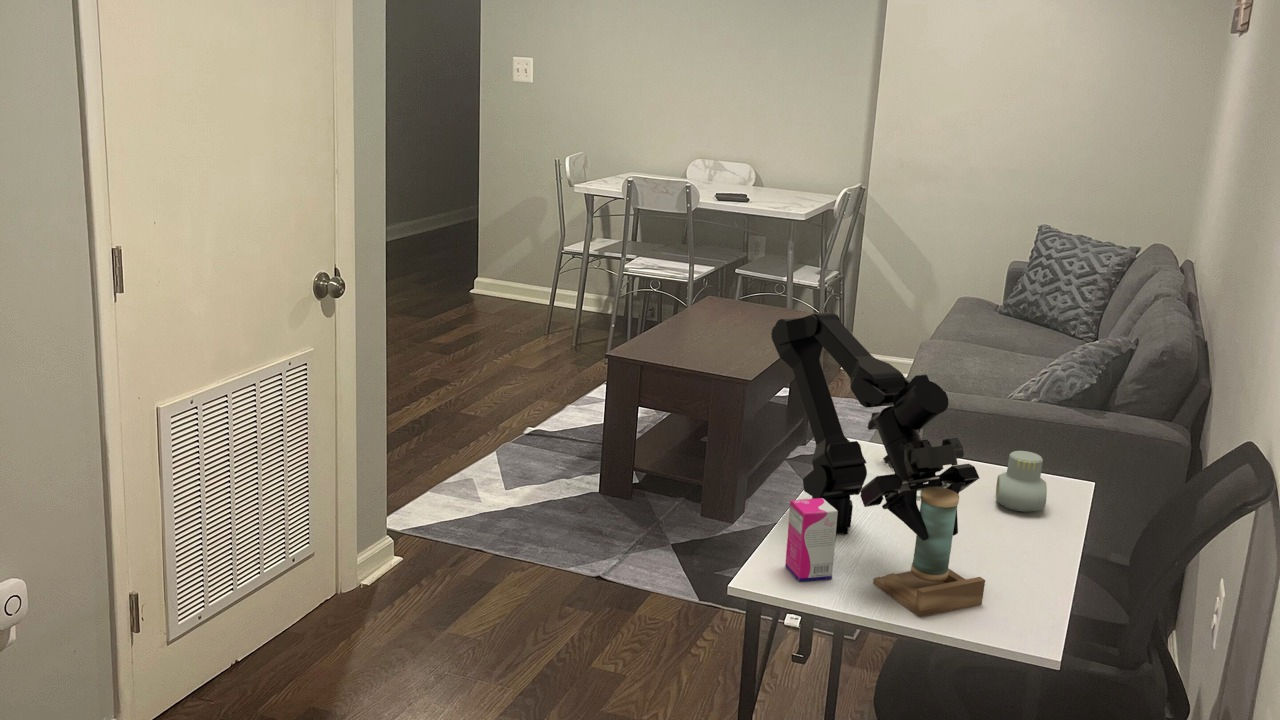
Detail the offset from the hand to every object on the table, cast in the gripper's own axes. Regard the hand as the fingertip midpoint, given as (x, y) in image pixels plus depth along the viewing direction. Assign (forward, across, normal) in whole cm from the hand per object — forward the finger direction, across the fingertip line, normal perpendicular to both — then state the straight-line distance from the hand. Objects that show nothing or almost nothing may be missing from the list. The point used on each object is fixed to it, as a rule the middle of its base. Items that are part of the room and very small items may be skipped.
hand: (940, 537), depth 165 cm
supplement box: (-2, -13, +17) cm, 22 cm away
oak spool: (+4, 0, +6) cm, 7 cm away
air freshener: (-10, +40, +24) cm, 48 cm away
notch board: (+6, 0, +8) cm, 10 cm away
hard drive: (-20, +22, +36) cm, 46 cm away
